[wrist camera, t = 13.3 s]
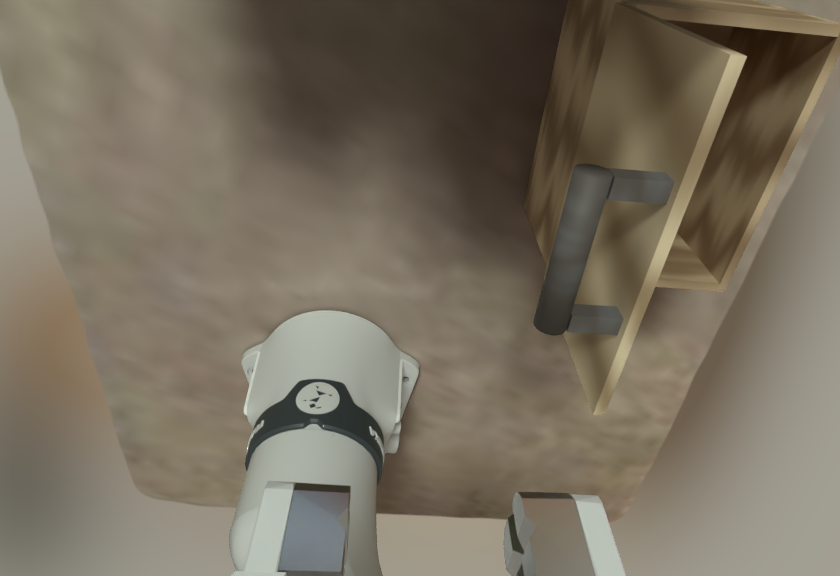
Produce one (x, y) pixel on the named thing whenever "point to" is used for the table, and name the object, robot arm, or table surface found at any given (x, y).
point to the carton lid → (630, 187)
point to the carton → (736, 136)
